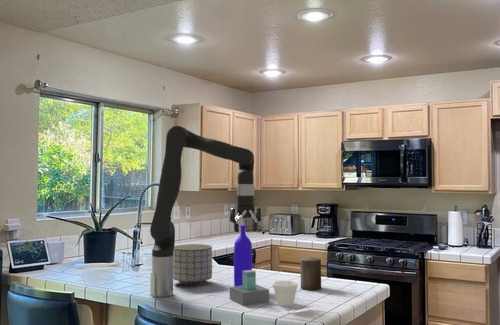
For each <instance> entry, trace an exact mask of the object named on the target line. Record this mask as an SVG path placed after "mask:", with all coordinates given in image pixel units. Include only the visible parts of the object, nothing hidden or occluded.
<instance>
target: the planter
mask: <svg viewBox="0 0 500 325" xmlns="http://www.w3.org/2000/svg"><path fill="white" fill-rule="evenodd" d="M212 277H213V246H212V245H211V244H202V243H189V244H187V243H185V244H178V245H175V246H174V250H173V281H177V282H179V283H180V284H183V285H185V286H190V287H191V286H193V287H194V286H199V285H202V284H204V283H206V282H207V281H209V280H210V279H212Z"/></svg>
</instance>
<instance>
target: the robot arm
mask: <svg viewBox="0 0 500 325" xmlns="http://www.w3.org/2000/svg"><path fill="white" fill-rule="evenodd" d="M166 132H167V133H166V139H165V153H164V159H163V162H162V163H163V164H162V168H161V173H160V177H159V183H158V189H157V197H156V204H155V209H154V214H153V217H152V220H151V224H150V227H149V228H150V230H149V232H150V236H151V238H152V239H153V240H154V246H153V248H152V249H151V250H152V251H151V272H150V296H152V297H153V298H163V297H171V296H172V295H174V279H173V250H174V246H176V243H175V241H176V238H175V237H176V229H175V228H176V227H175V224H174V223H173V222H172V221H171V217H172V211H173V208H174V206H175V204H176V200H177V198H178V196H179V193H180V188H181V183H182V182H181V181H182V176H183V175H182V173H183V172H182V155H183V154H182V153H183V150H184V148H187V149H193V150H197V151H200V152H203V153H206V154H208V155H211V156H214V157H217V158H220V159H224V160H228V161H231V162H234V163H237V164H238V173H237V186H236V187H237V188H236V208H235V207H233V208H230V211H229V212H230V213H229V222H230V223H233V231H234V232H235V233H239V231H240V225H239V224H240V221H241V220H242V219H246V218H247V219H248V218H249V219H250V220H251V222H252V224H251V225H252V226H251V227H252V229H251V231H252V232H257V230H258V223H259V222H261V221H262V213H261V212H262V211H261V207H257V206H256V207H254V206H255V186H254V179H255V178H254V167H255V155H254V152H253V151H251V150H250V149H248V148H245V147H242V146H237V145H233V144H230V143H227V142H225V141H221V140H217V139H213V138H210V137H209V138H208V137H204V136H201V135H198V134H196V133H194V132H191V131H190V130H188V129H187V128H185V127H184V126H181V125H173V126H171V127H170V128H169V129H168V131H166ZM236 213H237V215H236ZM254 213H255V214H254Z"/></svg>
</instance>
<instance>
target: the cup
mask: <svg viewBox="0 0 500 325" xmlns="http://www.w3.org/2000/svg"><path fill="white" fill-rule="evenodd" d="M272 288H273V289H274V294H275V298H276V303H277V305H278V306H281V307H291V306H293V305H294V303H295V298H296V293H297V289H298V282H296V281H292V280H291V281H290V280H277V281H273V283H272Z"/></svg>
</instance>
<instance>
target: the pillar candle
mask: <svg viewBox="0 0 500 325" xmlns="http://www.w3.org/2000/svg"><path fill="white" fill-rule="evenodd" d="M299 265H300V267H299V269H300V289H301V290H305V291H318V290H319V291H320V290H322V259H321V258H318V257H312V256H310V257H301V258H300V263H299Z"/></svg>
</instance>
